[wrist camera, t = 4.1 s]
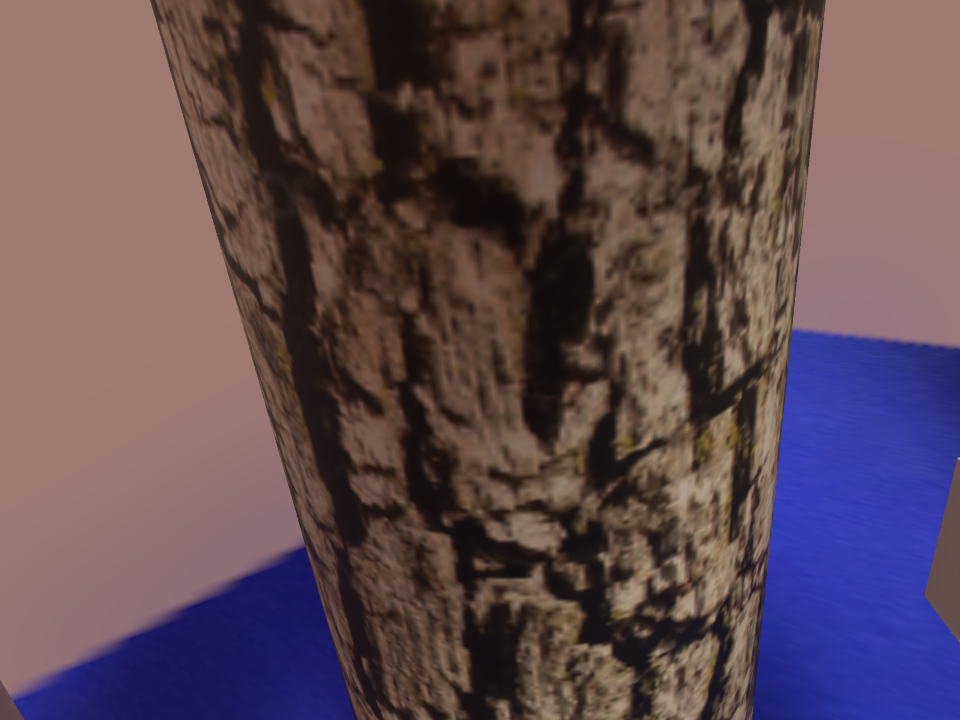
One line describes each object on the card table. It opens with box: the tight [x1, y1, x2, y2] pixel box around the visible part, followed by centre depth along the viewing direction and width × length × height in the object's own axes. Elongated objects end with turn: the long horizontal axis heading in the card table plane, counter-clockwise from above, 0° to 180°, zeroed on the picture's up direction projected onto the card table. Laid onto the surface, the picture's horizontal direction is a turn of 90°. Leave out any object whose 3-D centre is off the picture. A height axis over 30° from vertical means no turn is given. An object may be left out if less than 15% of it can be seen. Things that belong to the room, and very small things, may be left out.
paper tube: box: [150, 0, 825, 720], centre depth 15 cm, size 7×7×25 cm
